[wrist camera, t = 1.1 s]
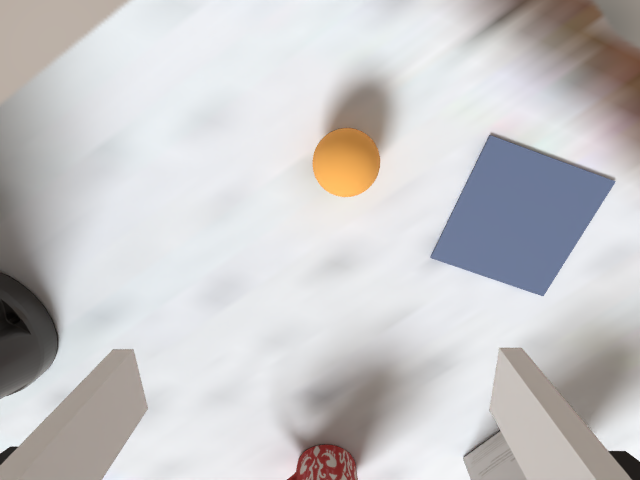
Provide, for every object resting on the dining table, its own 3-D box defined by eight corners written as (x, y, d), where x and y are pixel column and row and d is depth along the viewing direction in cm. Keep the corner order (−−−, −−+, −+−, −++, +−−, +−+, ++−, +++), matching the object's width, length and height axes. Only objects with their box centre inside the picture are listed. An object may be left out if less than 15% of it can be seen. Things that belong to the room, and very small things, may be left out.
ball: (306, 178, 32) (300, 189, 26) (326, 118, 30) (324, 117, 25) (362, 198, 32) (368, 213, 27) (385, 140, 30) (396, 143, 25)
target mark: (430, 257, 33) (431, 258, 33) (489, 135, 30) (490, 135, 29) (542, 295, 34) (543, 296, 34) (613, 181, 30) (615, 181, 30)
